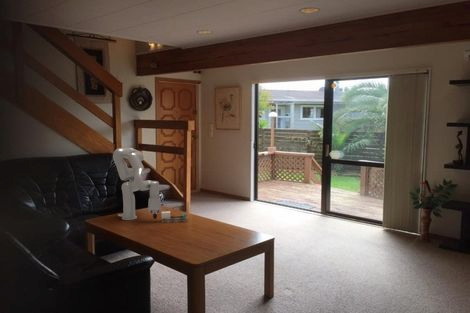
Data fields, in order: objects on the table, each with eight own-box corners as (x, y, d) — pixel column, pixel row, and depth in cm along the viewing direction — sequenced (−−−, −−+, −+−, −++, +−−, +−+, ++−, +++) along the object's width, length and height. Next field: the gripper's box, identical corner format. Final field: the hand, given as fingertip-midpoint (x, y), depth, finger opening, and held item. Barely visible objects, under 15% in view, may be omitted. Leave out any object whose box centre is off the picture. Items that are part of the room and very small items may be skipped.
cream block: (161, 220, 317) (161, 212, 316) (161, 218, 321) (161, 211, 320) (170, 219, 318) (170, 212, 317) (170, 218, 322) (170, 211, 322)
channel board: (161, 223, 313) (161, 216, 312) (161, 219, 325) (161, 213, 324) (186, 222, 316) (186, 215, 316) (185, 218, 328) (185, 212, 328)
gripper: (163, 195, 321) (164, 217, 323) (145, 195, 318) (145, 217, 320) (163, 197, 314) (164, 219, 315) (144, 197, 311) (145, 220, 313)
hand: (155, 218), depth 318 cm, fingers closed
